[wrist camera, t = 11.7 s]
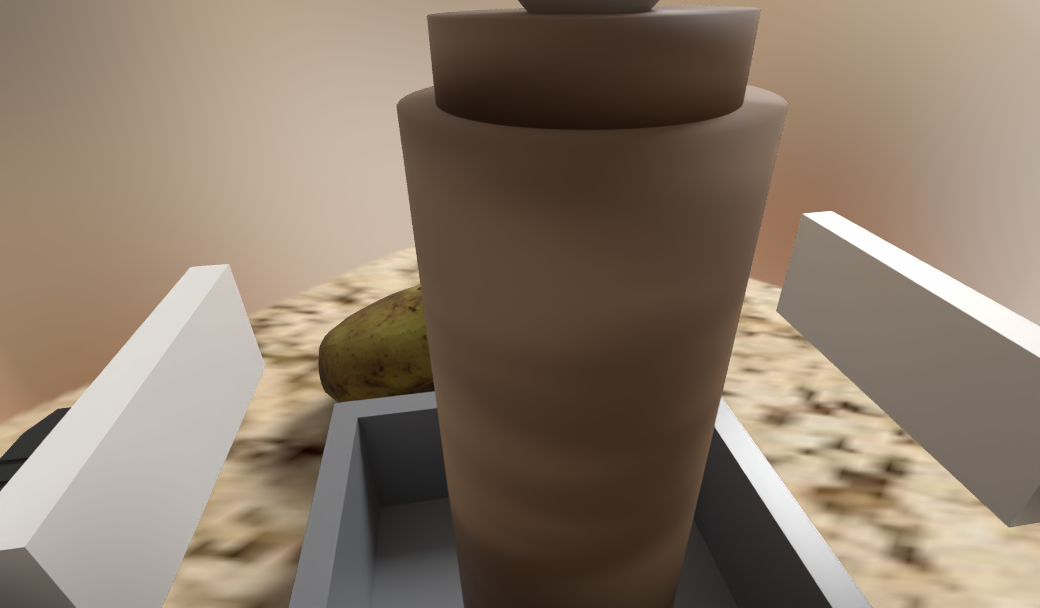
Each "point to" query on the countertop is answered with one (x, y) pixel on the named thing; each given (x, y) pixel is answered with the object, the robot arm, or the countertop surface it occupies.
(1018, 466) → the robot arm
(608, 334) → the pepper mill
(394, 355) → the potato
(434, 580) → the tub
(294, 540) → the countertop surface
